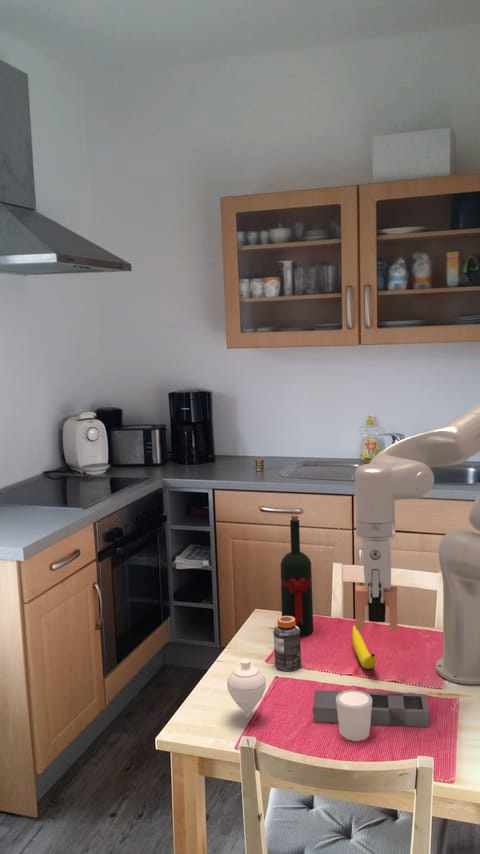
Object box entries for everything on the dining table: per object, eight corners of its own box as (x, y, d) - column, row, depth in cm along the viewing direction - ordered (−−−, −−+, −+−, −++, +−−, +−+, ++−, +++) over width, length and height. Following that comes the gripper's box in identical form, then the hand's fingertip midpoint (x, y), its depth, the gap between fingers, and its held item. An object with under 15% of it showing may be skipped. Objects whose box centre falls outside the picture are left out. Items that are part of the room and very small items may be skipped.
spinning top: (254, 731, 144) (252, 672, 143) (221, 721, 149) (218, 664, 147) (274, 713, 151) (272, 656, 149) (241, 704, 155) (239, 649, 153)
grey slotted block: (425, 708, 151) (425, 694, 150) (429, 727, 144) (429, 712, 143) (315, 703, 154) (314, 690, 154) (313, 721, 147) (313, 707, 147)
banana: (360, 644, 181) (360, 619, 180) (380, 681, 162) (380, 654, 161) (348, 645, 181) (348, 620, 180) (367, 682, 162) (366, 655, 161)
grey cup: (332, 724, 146) (332, 690, 145) (367, 722, 147) (367, 688, 146) (340, 744, 139) (339, 708, 138) (377, 741, 140) (376, 706, 139)
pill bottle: (301, 660, 174) (300, 613, 172) (300, 672, 168) (299, 623, 166) (275, 660, 175) (274, 613, 173) (274, 671, 169) (272, 623, 167)
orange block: (397, 625, 150) (396, 586, 149) (397, 631, 148) (396, 592, 146) (356, 623, 152) (356, 585, 151) (356, 629, 149) (355, 590, 148)
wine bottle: (283, 642, 184) (280, 523, 179) (281, 625, 194) (277, 512, 189) (316, 641, 184) (313, 521, 179) (311, 624, 194) (308, 510, 190)
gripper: (395, 540, 138) (396, 635, 141) (395, 516, 154) (396, 602, 157) (353, 539, 140) (355, 634, 142) (358, 516, 155) (360, 601, 158)
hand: (377, 616), depth 149 cm, fingers closed on orange block, 3 cm apart
